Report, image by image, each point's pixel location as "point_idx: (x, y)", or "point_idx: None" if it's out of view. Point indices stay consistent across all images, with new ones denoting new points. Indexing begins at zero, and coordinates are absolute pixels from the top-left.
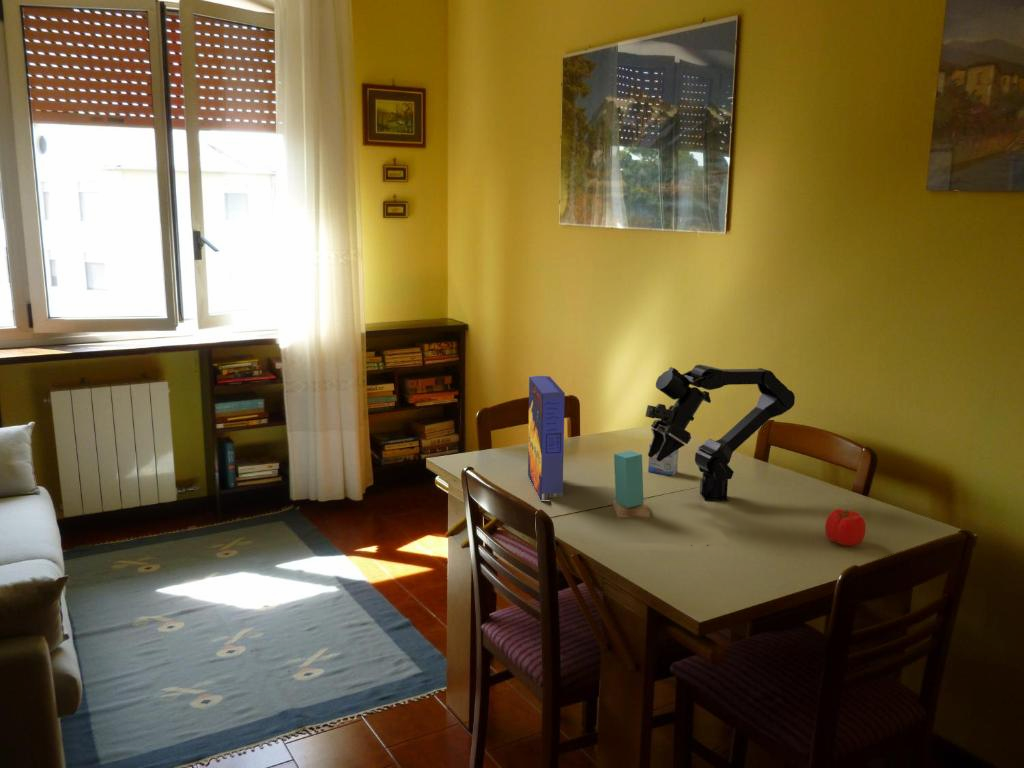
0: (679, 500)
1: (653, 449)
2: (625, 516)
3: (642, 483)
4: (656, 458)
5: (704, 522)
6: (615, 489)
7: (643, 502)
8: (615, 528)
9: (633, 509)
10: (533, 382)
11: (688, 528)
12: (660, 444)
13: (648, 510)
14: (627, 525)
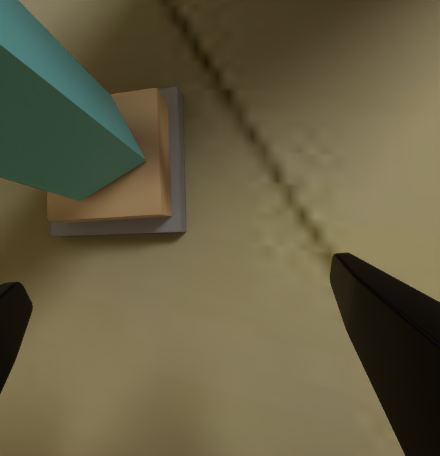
0: (296, 377)
1: (367, 319)
2: None
3: (9, 177)
4: (4, 284)
5: (78, 406)
6: (78, 62)
7: (75, 199)
8: None
9: None
10: None
11: (30, 339)
12: (426, 443)
13: (48, 216)
14: None
